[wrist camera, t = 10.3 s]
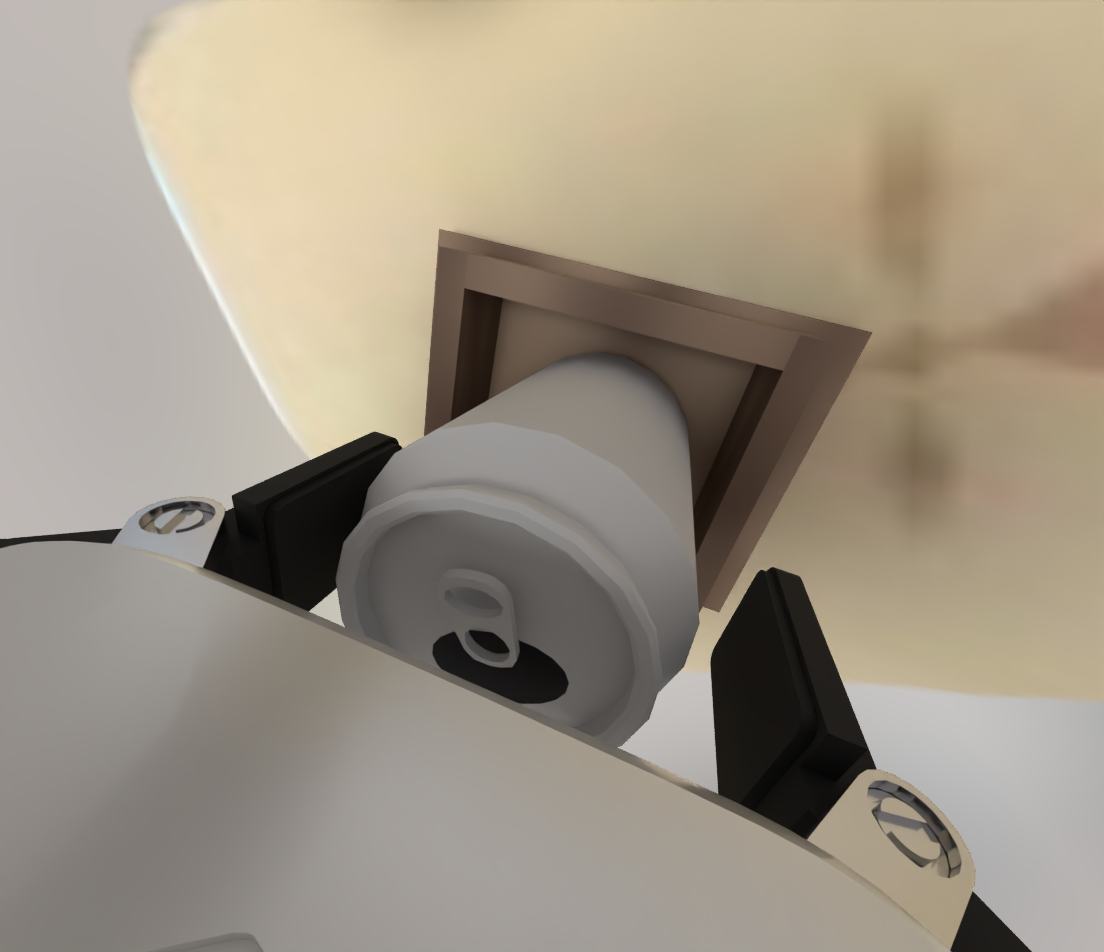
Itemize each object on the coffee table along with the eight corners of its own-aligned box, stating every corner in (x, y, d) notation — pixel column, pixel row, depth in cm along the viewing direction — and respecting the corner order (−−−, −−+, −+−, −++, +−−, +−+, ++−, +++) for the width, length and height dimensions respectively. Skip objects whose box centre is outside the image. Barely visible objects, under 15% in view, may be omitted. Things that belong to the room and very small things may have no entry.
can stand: (858, 329, 15) (929, 344, 11) (716, 595, 21) (727, 672, 16) (453, 232, 17) (383, 214, 13) (430, 496, 23) (376, 541, 19)
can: (522, 508, 20) (350, 744, 10) (509, 350, 17) (240, 443, 7) (681, 524, 18) (683, 842, 8) (697, 347, 15) (738, 476, 5)
